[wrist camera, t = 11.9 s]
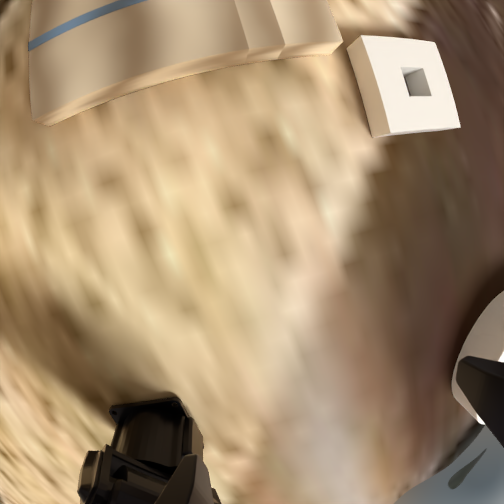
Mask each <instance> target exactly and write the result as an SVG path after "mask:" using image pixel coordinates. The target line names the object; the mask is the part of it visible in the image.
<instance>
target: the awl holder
mask: <svg viewBox="0 0 504 504" xmlns="http://www.w3.org/2000/svg"><path fill="white" fill-rule="evenodd" d="M346 49H347V52H348V55H349V58H350V61H351V64H352V67H353V70H354V73H355V77H356V80H357V83H358V86H359V90H360V93H361V97H362V100H363V104H364V107H365V111H366V115H367V119H368V123H369V127H370V131H371V135H372V138H374V137H382V136H390V135H399V134H408V133H418V132H429V131H441V130H447V129H453V128H460V123H459V118H458V114H457V110H456V106H455V103H454V99H453V95H452V92H451V88H450V85H449V82H448V78H447V75H446V72H445V69H444V66H443V63H442V60H441V58H440V55H439V52H438V49H437V47H436V44H435V42H429V41H422V40H414V39H406V38H396V37H383V36H365V35H361V36H360V37H358V38H357V39H356V40H355V41H354V42H353V43H352V44H351V45H350V46H348V47H347V48H346ZM404 77H405V79H406V82H407V85H408V89H409V92H410V96H409V93H408V90H407V86H406V83H405V80H404Z"/></svg>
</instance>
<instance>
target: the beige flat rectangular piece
mask: <svg viewBox="0 0 504 504" xmlns="http://www.w3.org/2000/svg"><path fill="white" fill-rule="evenodd" d="M342 42H343V39H342V36H341V34H340V31H339V28H338V26H337V23H336V21H335V18H334V16H333V13H332V11H331V9H330V6H329V4H328V2H327V0H32V7H31V18H30V34H29V42H28V51H29V86H30V102H31V114H32V121H34V122H37V123H41V124H44V125H47V126H52V125H54V124H56V123H58V122H60V121H63V120H65V119H67V118H69V117H71V116H73V115H76V114H78V113H80V112H83V111H85V110H87V109H90V108H92V107H95V106H97V105H100V104H102V103H105V102H107V101H110V100H113V99H115V98H118V97H121V96H124V95H126V94H129V93H132V92H135V91H138V90H141V89H144V88H147V87H151V86H154V85H157V84H161V83H164V82H167V81H171V80H175V79H178V78H182V77H186V76H190V75H194V74H198V73H203V72H207V71H211V70H216V69H221V68H226V67H231V66H237V65H242V64H248V63H255V62H261V61H269V60H276V59H285V58H294V57H306V56H320V55H330V54H331V53H332V52H333V51H334V50H335V49H336V48H337V47H338V46H339V45H340V44H341V43H342Z"/></svg>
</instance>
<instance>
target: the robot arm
mask: <svg viewBox="0 0 504 504" xmlns="http://www.w3.org/2000/svg"><path fill="white" fill-rule="evenodd" d="M456 382H457V384H458V386H459V387H460V389H461V390H462V392H463V393H464V395H465V396H466V398H467V400H468V401H469V403H470V404H471V406H472V407H473V409H474V410H475V412H476V413H477V414H478V416H479V417H480V418H481V419H482V421H483V422H484V423H485V424H486V426H487V427H488V428H489V429H490V431H491V432H492V433H493V434H494V436H495V437H496V438H497V440H498V441H499V442H500V443H501V445H502V446H503V447H504V362H499V361H494V360H489V359H484V358H479V357H474V356H465V357H464V358H462V359H461V360H459V362H458V366H457V372H456ZM173 403H177V404H173ZM114 411H116V412H114ZM109 413H110V415H111V416H112V418H113V419H114V421H115V422H116V424H117V427H116V430H115V433H114V436H113V439H112V443H111V446H109V445H107V444H106V445H105V446H104V447H103V449H102V450H100V451H88V452H87V454H86V456H85V459H84V462H83V465H82V468H81V471H80V476H79V483H78V490H77V492H78V494H79V496H80V504H221V502H220V499H219V497H218V495H217V492H216V490H215V489H214V488H211V484H210V478H209V472H208V469H207V467H206V465H205V464H204V462H203V449H204V444H203V436H202V434H201V432H200V430H199V429H198V427H197V425H196V423H195V421H194V419H193V418H192V417H189V416H188V414H187V412H186V410H185V408H184V406H183V404H182V402H181V400H180V399H179V398H177V397H171V398H165V399H159V400H153V401H146V402H139V403H131V404H123V405H115V406H111V407H110V409H109Z"/></svg>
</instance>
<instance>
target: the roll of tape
mask: <svg viewBox="0 0 504 504" xmlns="http://www.w3.org/2000/svg"><path fill="white" fill-rule="evenodd" d="M465 356H474V357H479V358H484V359H489V360H494V361H499V362H504V291H502V292H501V293H500V294H499V295H497V296H496V297H495V298H494V299H493V300H492V301H491V302H490V303H489V304H488V306H487V307H486V308H485V310H484V311H483V312H482V314H481V315H480V316H479V318H478V319H477V321H476V323H475V324H474V326H473V328H472V329H471V331H470V333H469V334H468V336H467V338H466V340H465V342H464V344H463V347H462V349H461V351H460V354H459V356H458V359H457V362H456V365H455V368H454V372H453V377H452V393H453V396H454V398H455V399H456V400H457V401H458V402H459V403H460V404H461V405H462V406H463V407H464V408H465V409H466V410H467V411H468V412H469V413H470V414H471V415H472V416H473V417H474V418H475V419H476V420H477V421H478V422H479V423H481V424H485V423H484V422H483V421H482V419H481V418H480V417H479V416H478V414H477V413H476V412H475V410H474V409H473V407H472V406H471V404H470V403H469V401H468V400H467V398H466V396H465V395H464V393H463V392H462V390H461V389H460V387H459V386H458V384H457V382H456V372H457V366H458V362H459V360H461V359H462V358H464V357H465Z"/></svg>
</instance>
